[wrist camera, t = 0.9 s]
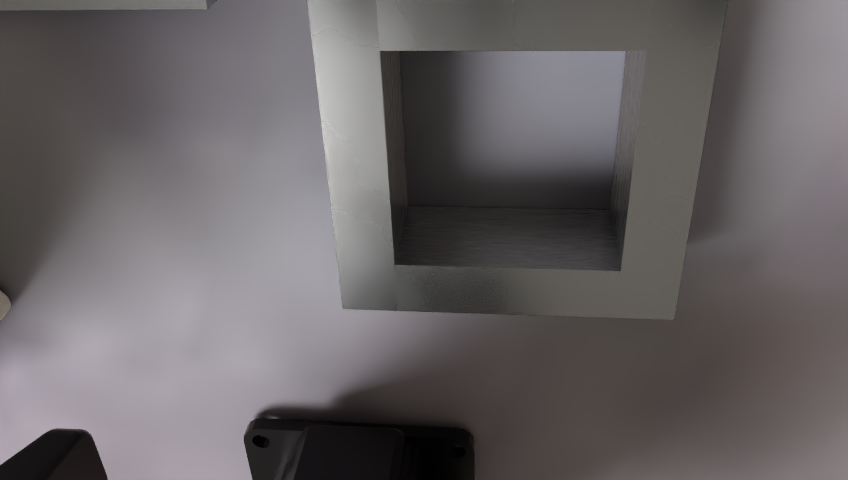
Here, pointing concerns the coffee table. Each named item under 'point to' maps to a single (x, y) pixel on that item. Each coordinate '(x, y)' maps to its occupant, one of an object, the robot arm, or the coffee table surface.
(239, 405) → the coffee table surface
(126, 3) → the piston base
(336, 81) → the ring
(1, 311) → the skincare box
